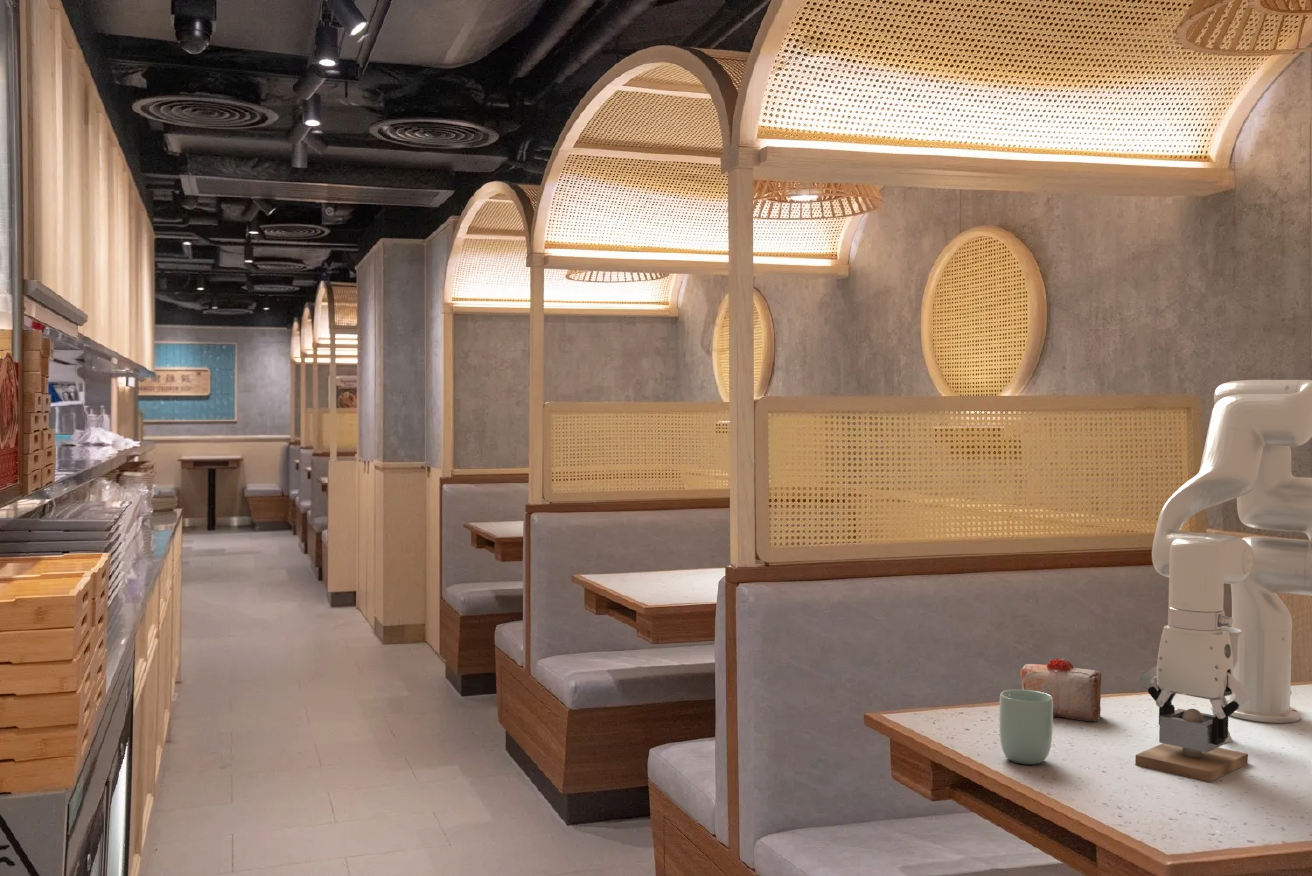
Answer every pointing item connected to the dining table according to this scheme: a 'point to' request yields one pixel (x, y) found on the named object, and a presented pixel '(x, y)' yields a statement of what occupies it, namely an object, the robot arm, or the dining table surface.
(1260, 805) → the dining table surface
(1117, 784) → the dining table surface
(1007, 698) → the cup
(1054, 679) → the food item
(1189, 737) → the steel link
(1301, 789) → the dining table surface
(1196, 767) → the brown flat pegged piece
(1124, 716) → the dining table surface
